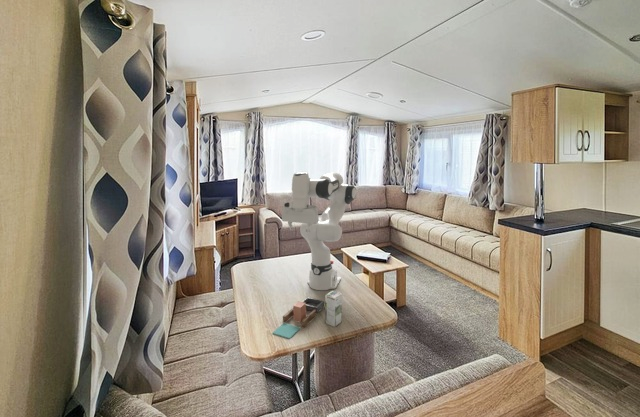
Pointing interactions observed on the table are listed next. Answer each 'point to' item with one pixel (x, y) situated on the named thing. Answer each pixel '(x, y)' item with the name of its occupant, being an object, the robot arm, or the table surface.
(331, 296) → the syrup box
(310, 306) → the tray
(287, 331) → the mat
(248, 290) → the table surface
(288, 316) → the parallel wooden rails
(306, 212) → the robot arm
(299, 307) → the block
